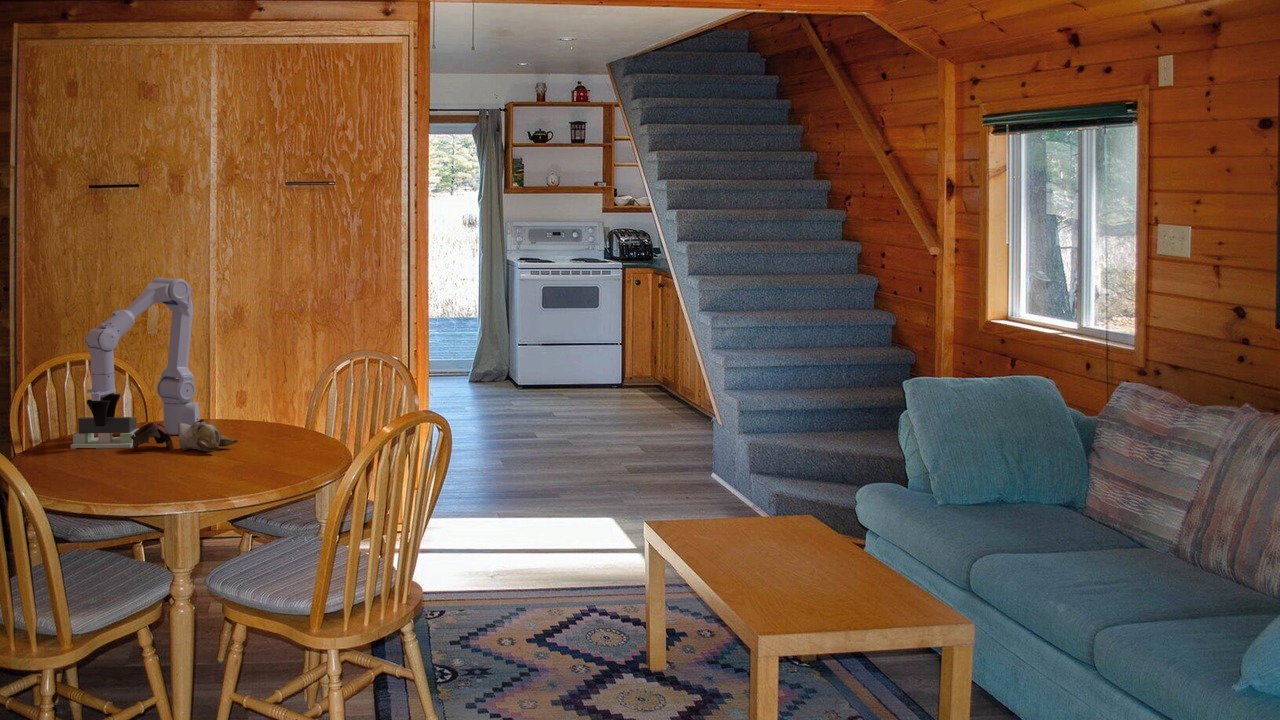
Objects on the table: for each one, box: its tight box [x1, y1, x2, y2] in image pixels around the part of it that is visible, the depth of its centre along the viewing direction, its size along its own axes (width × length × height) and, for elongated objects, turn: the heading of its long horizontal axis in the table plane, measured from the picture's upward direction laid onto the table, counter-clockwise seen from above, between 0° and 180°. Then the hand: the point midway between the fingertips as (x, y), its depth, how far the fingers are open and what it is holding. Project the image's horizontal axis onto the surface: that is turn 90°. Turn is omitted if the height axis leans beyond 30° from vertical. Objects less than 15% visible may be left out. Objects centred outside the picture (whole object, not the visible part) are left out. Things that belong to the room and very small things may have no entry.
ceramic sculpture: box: [178, 418, 239, 453], centre depth 325 cm, size 11×9×15 cm
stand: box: [70, 428, 139, 450], centre depth 332 cm, size 15×11×4 cm
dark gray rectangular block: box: [77, 416, 138, 434], centre depth 333 cm, size 13×7×4 cm, turn 98°
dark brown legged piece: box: [131, 421, 175, 451], centre depth 327 cm, size 12×10×8 cm
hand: (104, 423), depth 330 cm, fingers open, 7 cm apart
